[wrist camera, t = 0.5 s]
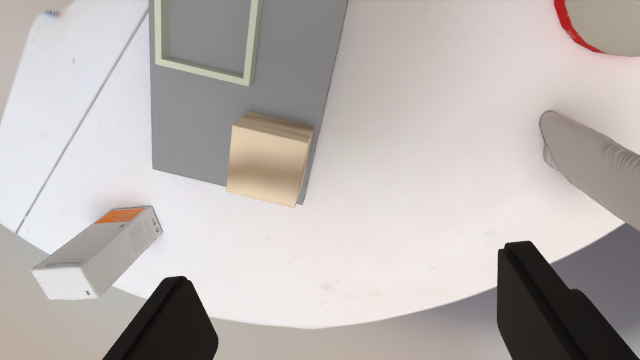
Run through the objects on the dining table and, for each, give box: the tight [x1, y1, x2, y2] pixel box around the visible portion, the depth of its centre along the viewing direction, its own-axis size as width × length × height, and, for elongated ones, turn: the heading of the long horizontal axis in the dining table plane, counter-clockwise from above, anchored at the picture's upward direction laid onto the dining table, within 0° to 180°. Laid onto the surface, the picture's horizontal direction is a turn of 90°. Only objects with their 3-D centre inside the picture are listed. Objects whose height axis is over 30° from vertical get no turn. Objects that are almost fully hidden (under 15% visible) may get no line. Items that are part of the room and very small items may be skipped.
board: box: [149, 0, 348, 205], centre depth 34 cm, size 22×18×1 cm
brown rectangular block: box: [226, 112, 315, 208], centre depth 33 cm, size 7×7×5 cm
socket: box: [154, 0, 263, 86], centre depth 30 cm, size 9×9×2 cm
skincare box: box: [31, 206, 162, 300], centre depth 38 cm, size 6×4×12 cm
